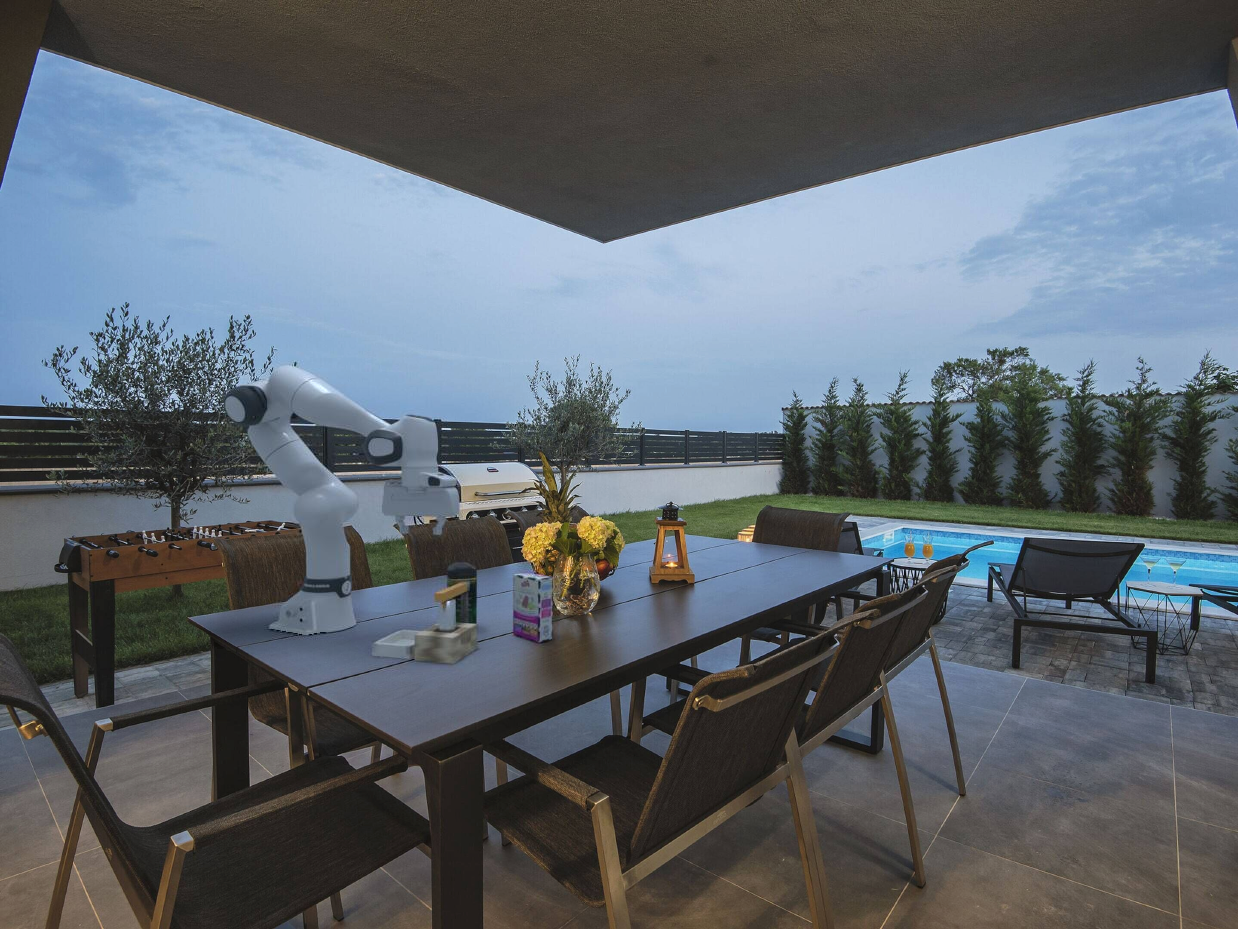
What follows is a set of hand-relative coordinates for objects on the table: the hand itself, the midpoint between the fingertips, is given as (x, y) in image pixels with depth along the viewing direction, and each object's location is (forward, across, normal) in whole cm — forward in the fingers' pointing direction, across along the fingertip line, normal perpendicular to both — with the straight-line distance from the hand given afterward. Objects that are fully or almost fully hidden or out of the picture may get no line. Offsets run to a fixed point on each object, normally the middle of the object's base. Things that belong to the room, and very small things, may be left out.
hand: (420, 534), depth 154 cm
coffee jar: (+28, +4, +14) cm, 32 cm away
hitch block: (+28, +10, -2) cm, 30 cm away
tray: (+28, -2, -5) cm, 28 cm away
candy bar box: (+28, +24, +14) cm, 40 cm away
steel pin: (+28, +10, -5) cm, 30 cm away
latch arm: (+15, +10, -2) cm, 18 cm away
